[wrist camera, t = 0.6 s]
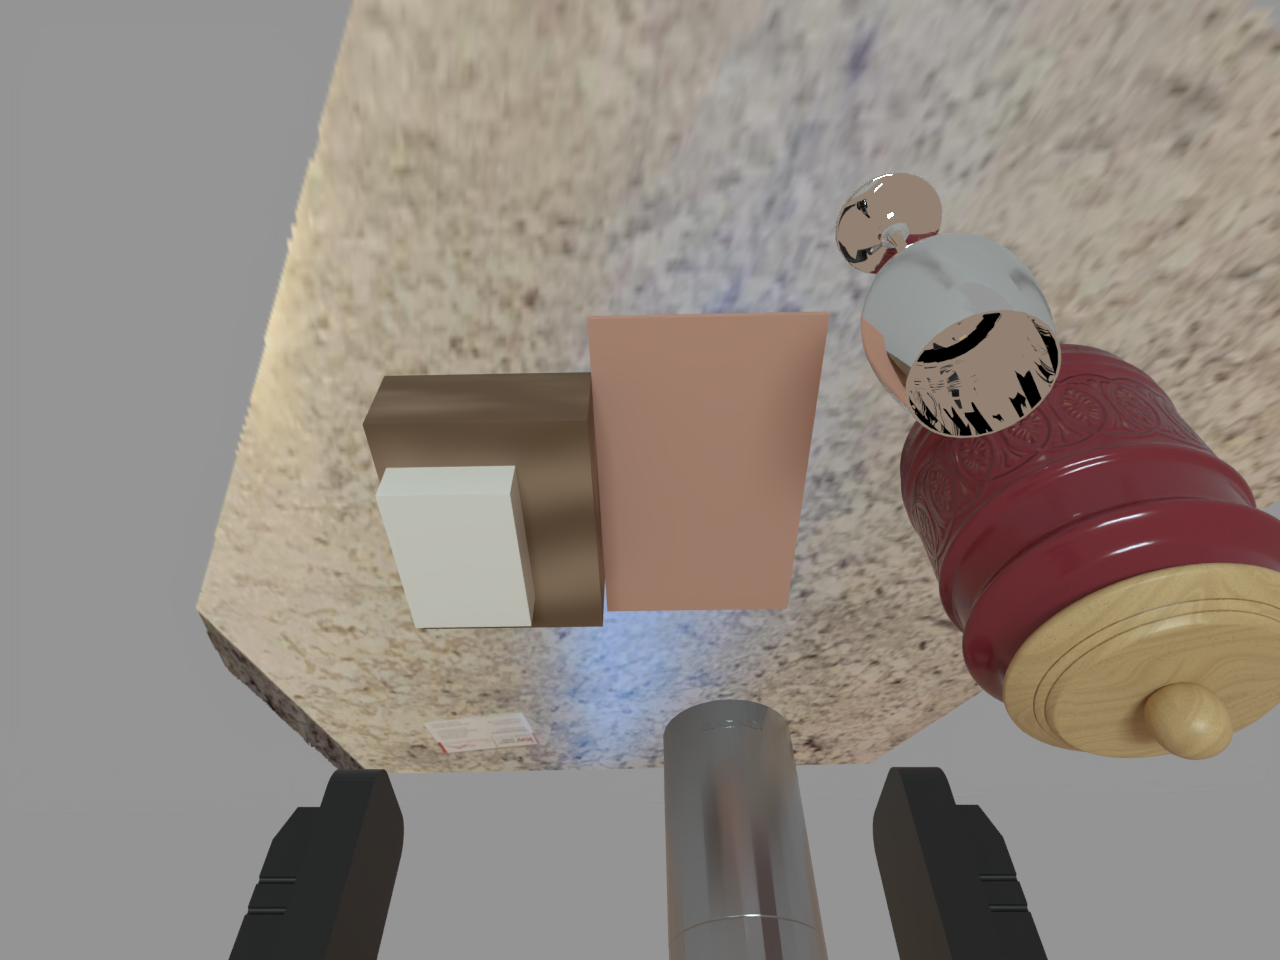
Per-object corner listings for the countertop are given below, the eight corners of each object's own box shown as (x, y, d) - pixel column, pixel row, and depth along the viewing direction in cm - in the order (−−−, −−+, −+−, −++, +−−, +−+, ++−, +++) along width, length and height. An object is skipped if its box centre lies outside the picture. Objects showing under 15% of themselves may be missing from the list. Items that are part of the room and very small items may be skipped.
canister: (1199, 331, 37) (1523, 628, 24) (1104, 534, 45) (1303, 839, 32) (918, 339, 37) (1079, 637, 24) (875, 539, 46) (975, 844, 32)
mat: (785, 605, 49) (786, 608, 49) (607, 607, 49) (607, 611, 49) (828, 311, 36) (829, 314, 36) (587, 316, 36) (587, 319, 36)
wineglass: (942, 285, 36) (1049, 449, 26) (812, 289, 36) (873, 454, 26) (972, 152, 32) (1108, 288, 23) (827, 157, 32) (904, 294, 23)
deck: (605, 574, 47) (602, 626, 44) (437, 576, 47) (423, 629, 44) (591, 371, 38) (587, 420, 35) (384, 375, 39) (362, 424, 35)
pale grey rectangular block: (535, 596, 43) (531, 626, 41) (423, 598, 43) (415, 627, 41) (515, 465, 37) (509, 493, 35) (386, 467, 37) (375, 495, 36)
